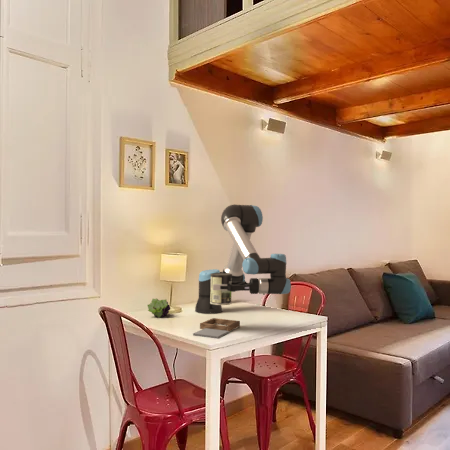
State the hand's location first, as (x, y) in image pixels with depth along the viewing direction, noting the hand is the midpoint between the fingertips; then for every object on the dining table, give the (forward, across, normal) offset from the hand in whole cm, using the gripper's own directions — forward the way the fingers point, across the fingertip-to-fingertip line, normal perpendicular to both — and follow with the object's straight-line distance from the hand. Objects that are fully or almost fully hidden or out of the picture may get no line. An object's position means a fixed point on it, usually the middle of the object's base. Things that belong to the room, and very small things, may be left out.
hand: (212, 285), depth 215 cm
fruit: (+25, +27, -20) cm, 42 cm away
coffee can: (-4, 0, -9) cm, 10 cm away
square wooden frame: (-4, 0, -20) cm, 20 cm away
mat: (+1, -13, -20) cm, 24 cm away
